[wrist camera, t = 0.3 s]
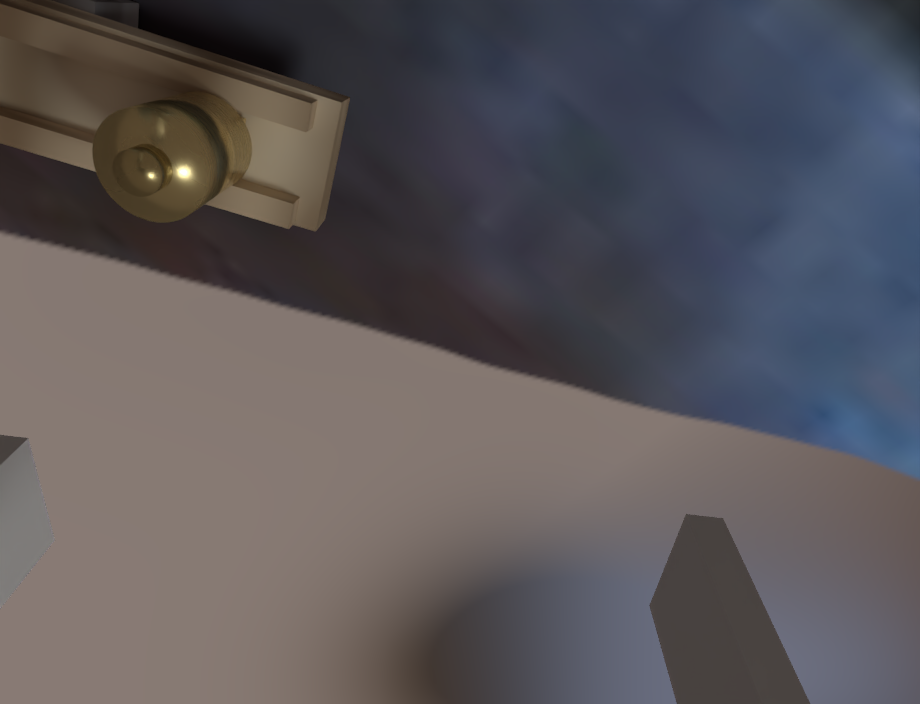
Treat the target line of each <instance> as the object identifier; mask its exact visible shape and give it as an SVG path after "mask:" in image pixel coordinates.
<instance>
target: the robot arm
mask: <svg viewBox="0 0 920 704" xmlns="http://www.w3.org/2000/svg"><path fill="white" fill-rule="evenodd" d="M54 540H55V539H54V535H53V531H52V528H51V524H50V520H49V516H48V512H47V508H46V504H45V501H44V497H43V493H42V489H41V485H40V481H39V478H38V474H37V470H36V466H35V462H34V459H33V455H32V451H31V447H30V443H29V439H28V438H21V437H13V436H4V435H0V608H1V607H2V606H3V605H4V603H5V602H6V601H7V600H8V598H9V597H10V596H11V594H12V593H13V592H14V591H15V590H16V588H17V587H18V586H19V585H20V583H21V582H22V581H23V579H24V578H25V577H26V576H27V574H28V573H29V572H30V571H31V569H32V568H33V567H34V566H35V564H36V563H37V562H38V561H39V559H40V558H41V557H42V555H43V554H44V553H45V552H46V550H47V549H48V548H49V547H50V545H51V544H52V543H53V542H54ZM650 609H651V612H652V616H653V619H654V623H655V627H656V630H657V634H658V638H659V641H660V644H661V648H662V652H663V655H664V659H665V663H666V666H667V670H668V673H669V677H670V681H671V684H672V688H673V691H674V694H675V698H676V702H677V704H810V702H809V700H808V699H807V696H806V694H805V692H804V690H803V687H802V685H801V683H800V681H799V679H798V677H797V675H796V673H795V670H794V668H793V666H792V665H791V662H790V660H789V658H788V656H787V653H786V651H785V649H784V647H783V645H782V643H781V641H780V639H779V636H778V634H777V632H776V630H775V628H774V626H773V624H772V622H771V619H770V618H769V615H768V613H767V611H766V609H765V607H764V605H763V603H762V600H761V598H760V596H759V594H758V592H757V590H756V588H755V585H754V583H753V581H752V579H751V577H750V575H749V573H748V571H747V568H746V566H745V564H744V562H743V560H742V558H741V556H740V554H739V551H738V549H737V547H736V545H735V543H734V541H733V539H732V537H731V534H730V532H729V530H728V528H727V526H726V524H725V522H724V520H723V518H714V517H706V516H697V515H688V514H686V516H685V518H684V521H683V523H682V526H681V528H680V531H679V533H678V536H677V538H676V541H675V543H674V546H673V548H672V551H671V553H670V556H669V558H668V561H667V563H666V566H665V568H664V571H663V573H662V576H661V578H660V581H659V583H658V586H657V588H656V591H655V593H654V596H653V598H652V601H651V603H650Z"/></svg>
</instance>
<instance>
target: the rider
mask: <svg viewBox="0 0 920 704" xmlns="http://www.w3.org/2000/svg"><path fill="white" fill-rule="evenodd" d="M245 123H246V118H244V117H241V116H240V115H239V113H238V112H237V111H236V110H235V109H234V108H233V107H232V106H231V105H230V104H228V103H227V102H226V101H224V100H223V99H221V98H219V97H217V96H215V95H212V94H210V93H206V92H199V91H191V92H185V93H181V94H177V95H174V96H170V97H166V98H162V99H158V100H155V101H151V102H147V103H143V104H139V105H135V106H132V107H128V108H124V109H121V110H118V111H116V112H114V113H112V114H111V115H109V116H108V117H107V118H105V120H104V121H103V122H102V123H101V124H100V126H99V128H98V129H97V131H96V134H95V137H94V141H93V148H92V154H93V162H94V167H95V170H96V173H97V175H98V178H99V180H100V182H101V184H102V185H103V187H104V189H105V190H106V191H107V193H108V194H109V195H110V196H111V198H112V199H113V200H114V201H115V202H116V203H117V204H119V205H120V206H121V207H122V208H124V209H125V210H126V211H128V212H130V213H131V214H133V215H135V216H137V217H139V218H142V219H145V220H148V221H153V222H173V221H177V220H180V219H182V218H184V217H187V216H188V215H189V214H191V213H192V212H194V211H195V210H197V209H198V208H200V207H201V206H203V205H204V204H206V203H207V202H208V201H210V200H211V199H213V198H214V197H216V196H217V195H219V194H220V193H222V192H223V191H225V190H226V189H228V188H229V187H230V186H232V185H233V184H235V183H236V182H238V181H239V180H240V179H241V178H242V177H243V176H244V174H245V173H246V171H247V170H248V168H249V165H250V162H251V157H252V142H251V137H250V134H249V131H248V128H247V126H246V124H245Z"/></svg>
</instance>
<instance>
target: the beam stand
mask: <svg viewBox="0 0 920 704" xmlns="http://www.w3.org/2000/svg"><path fill="white" fill-rule="evenodd" d="M138 16H139V3H136V2H133V1H130V0H0V143H1V144H5V145H8V146H11V147H15V148H18V149H22V150H25V151H28V152H32V153H35V154H38V155H42V156H45V157H48V158H52V159H55V160H59V161H62V162H65V163H69V164H72V165H75V166H79V167H82V168H85V169H89V170H92V171H96V170H95V167H94V162H93V154H92V148H93V141H94V137H95V134H96V131H97V129H98V128H99V126H100V124H101V123H102V122H103V121H104V120H105V118H107V117H108V116H109V115H111V114H112V113H114V112H116V111H118V110H121V109H124V108H128V107H132V106H135V105H139V104H143V103H147V102H151V101H155V100H158V99H162V98H166V97H170V96H174V95H177V94H181V93H185V92H191V91H199V92H206V93H210V94H212V95H215V96H217V97H219V98H221V99H223V100H224V101H226V102H227V103H228V104H230V105H231V106H232V107H233V108H234V109H235V110H236V111H237V112H238V113H239V115H240V116H241V117H244V118H246V123H245V124H246V126H247V128H248V131H249V134H250V137H251V142H252V157H251V162H250V165H249V168H248V170H247V171H246V173H245V174H244V176H243V177H242V178H241V179H240V180H239V181H238V182H236V183H235V184H233V185H232V186H230V187H229V188H228V189H226V190H225V191H223V192H222V193H220V194H219V195H217V196H216V197H214V198H213V199H211V200H210V201H208V202H207V203H206V205H210V206H213V207H217V208H220V209H223V210H227V211H230V212H233V213H237V214H240V215H243V216H247V217H250V218H254V219H257V220H260V221H264V222H267V223H270V224H274V225H277V226H280V227H284V228H287V229H289V228H290V227H291V226H292V225H296V226H299V227H302V228H306V229H309V230H312V231H316V230H317V229H318V228H319V227H320V225H321V224H322V223H323V221H324V220H325V217H326V212H327V207H328V202H329V197H330V192H331V188H332V183H333V178H334V173H335V168H336V163H337V159H338V154H339V149H340V144H341V139H342V134H343V130H344V125H345V120H346V115H347V110H348V105H349V101H350V97H348V96H344V95H341V94H338V93H335V92H332V91H329V90H326V89H323V88H320V87H317V86H314V85H311V84H307V83H304V82H301V81H298V80H295V79H292V78H289V77H286V76H283V75H280V74H277V73H274V72H271V71H267V70H264V69H261V68H258V67H255V66H252V65H249V64H246V63H243V62H240V61H237V60H234V59H230V58H227V57H224V56H221V55H218V54H215V53H212V52H209V51H206V50H203V49H200V48H197V47H194V46H190V45H187V44H184V43H181V42H178V41H175V40H172V39H169V38H166V37H163V36H160V35H157V34H153V33H150V32H147V31H144V30H141V29H138Z"/></svg>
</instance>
